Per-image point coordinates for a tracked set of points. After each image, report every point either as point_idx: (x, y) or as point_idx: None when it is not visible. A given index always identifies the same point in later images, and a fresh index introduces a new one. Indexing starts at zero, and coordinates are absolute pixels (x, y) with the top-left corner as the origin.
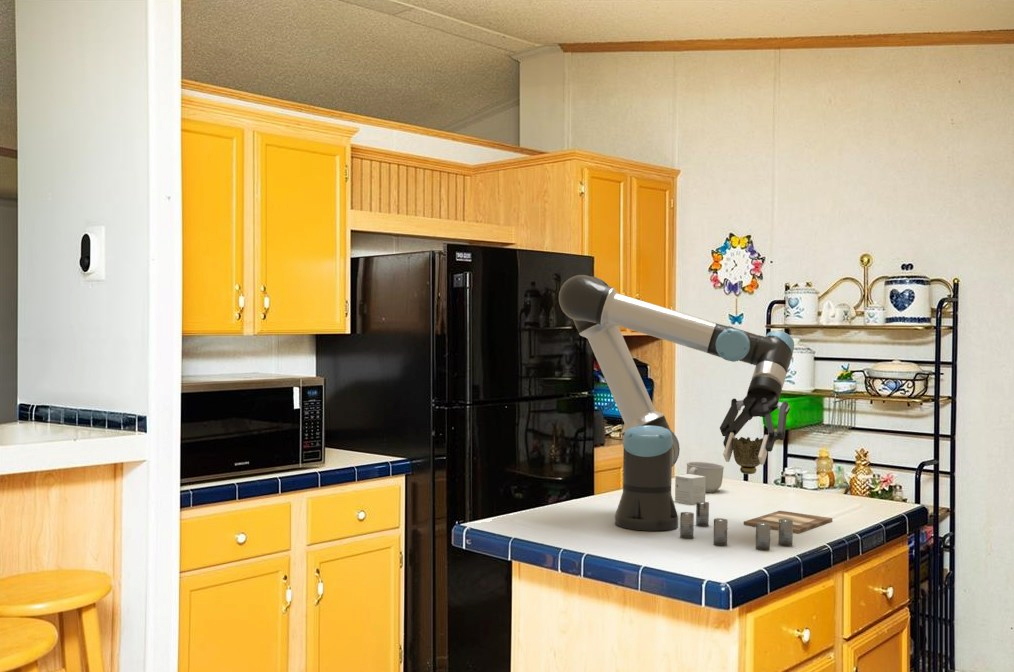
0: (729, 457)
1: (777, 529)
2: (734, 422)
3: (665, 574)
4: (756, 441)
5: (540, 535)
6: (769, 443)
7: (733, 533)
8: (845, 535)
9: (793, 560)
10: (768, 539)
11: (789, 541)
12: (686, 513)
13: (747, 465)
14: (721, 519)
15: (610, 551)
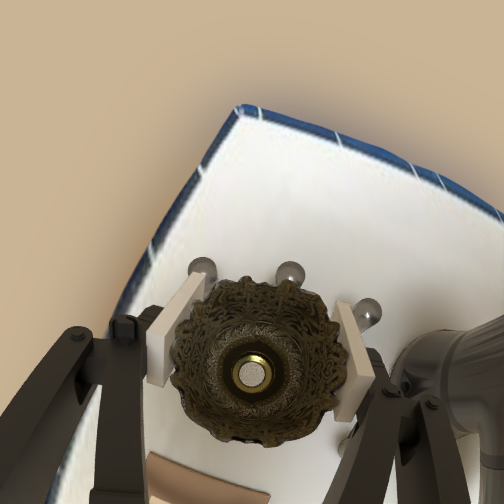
0: None
1: (194, 471)
2: (388, 440)
3: (305, 123)
4: (225, 433)
5: (494, 242)
6: (149, 318)
7: None
8: (72, 454)
9: (158, 229)
10: None
11: None
12: (369, 308)
13: (251, 329)
14: (289, 276)
15: (402, 191)
